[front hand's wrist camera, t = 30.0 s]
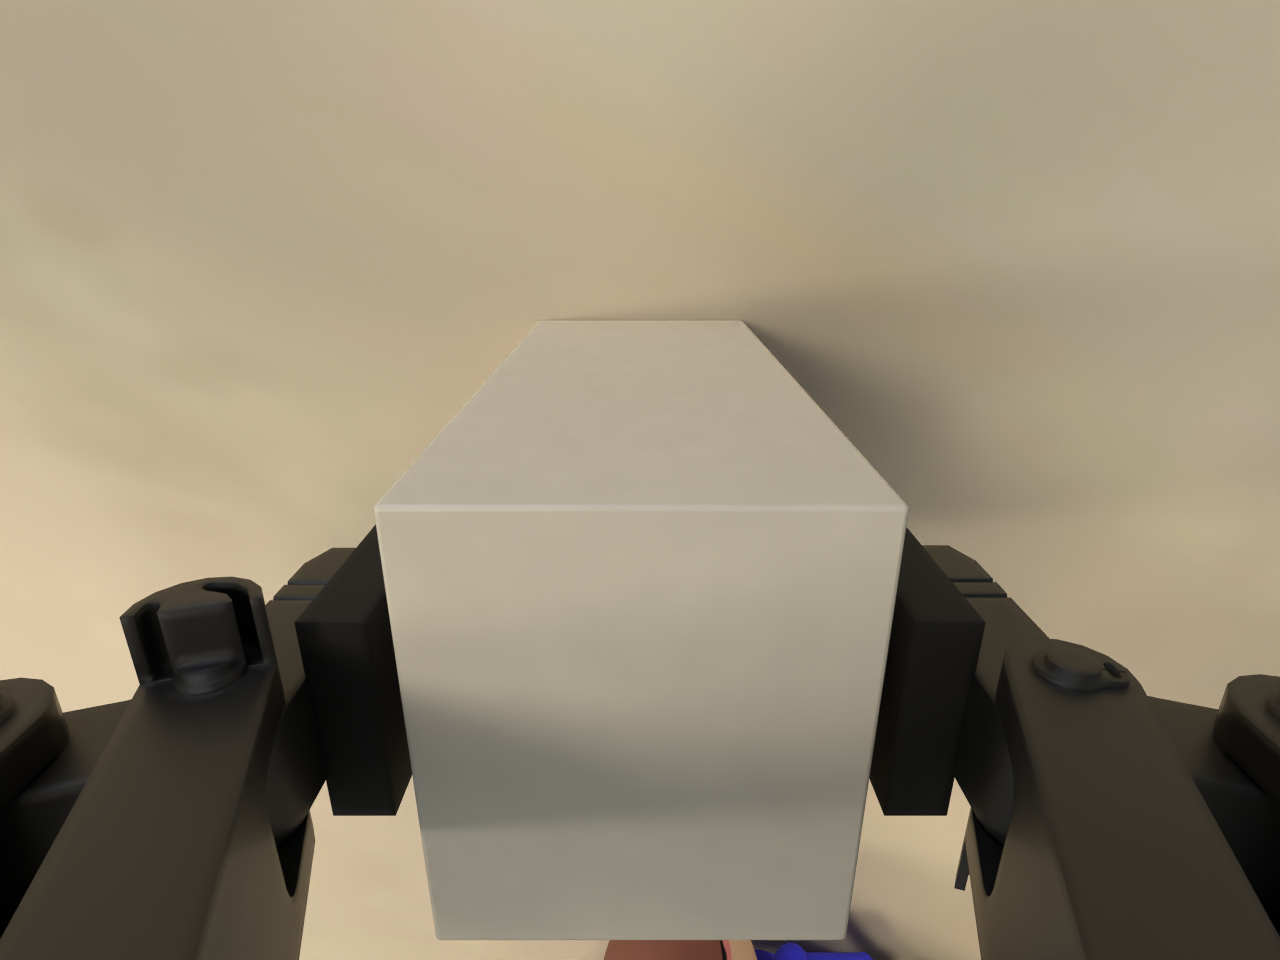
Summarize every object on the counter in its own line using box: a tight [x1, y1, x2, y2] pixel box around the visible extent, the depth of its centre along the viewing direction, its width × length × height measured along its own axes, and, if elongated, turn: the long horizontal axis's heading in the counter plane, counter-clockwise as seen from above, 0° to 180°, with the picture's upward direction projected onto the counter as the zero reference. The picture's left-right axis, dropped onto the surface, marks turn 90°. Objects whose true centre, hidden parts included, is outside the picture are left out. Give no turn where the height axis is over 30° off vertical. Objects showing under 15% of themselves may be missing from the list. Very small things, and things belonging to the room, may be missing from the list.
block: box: [374, 320, 909, 940], centre depth 13 cm, size 6×5×12 cm
